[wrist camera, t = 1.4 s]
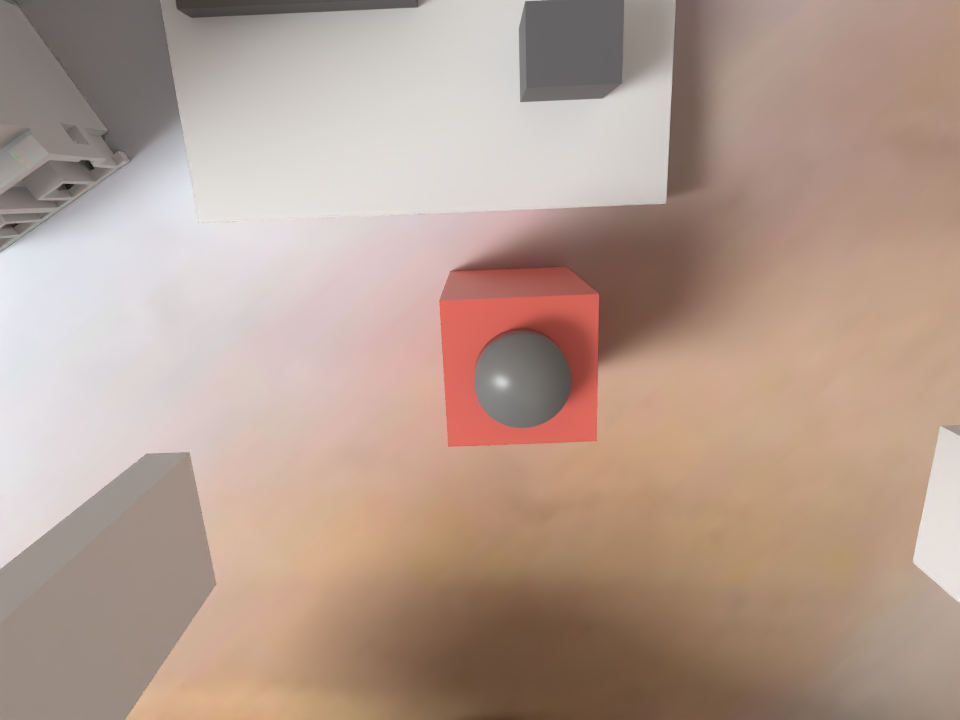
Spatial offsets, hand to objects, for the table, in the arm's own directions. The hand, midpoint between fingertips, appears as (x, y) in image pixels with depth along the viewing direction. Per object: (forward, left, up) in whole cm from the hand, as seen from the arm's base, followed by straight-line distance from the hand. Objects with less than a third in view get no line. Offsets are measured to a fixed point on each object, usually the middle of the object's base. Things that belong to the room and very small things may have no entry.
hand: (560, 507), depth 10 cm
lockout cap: (0, 0, -16) cm, 16 cm away
